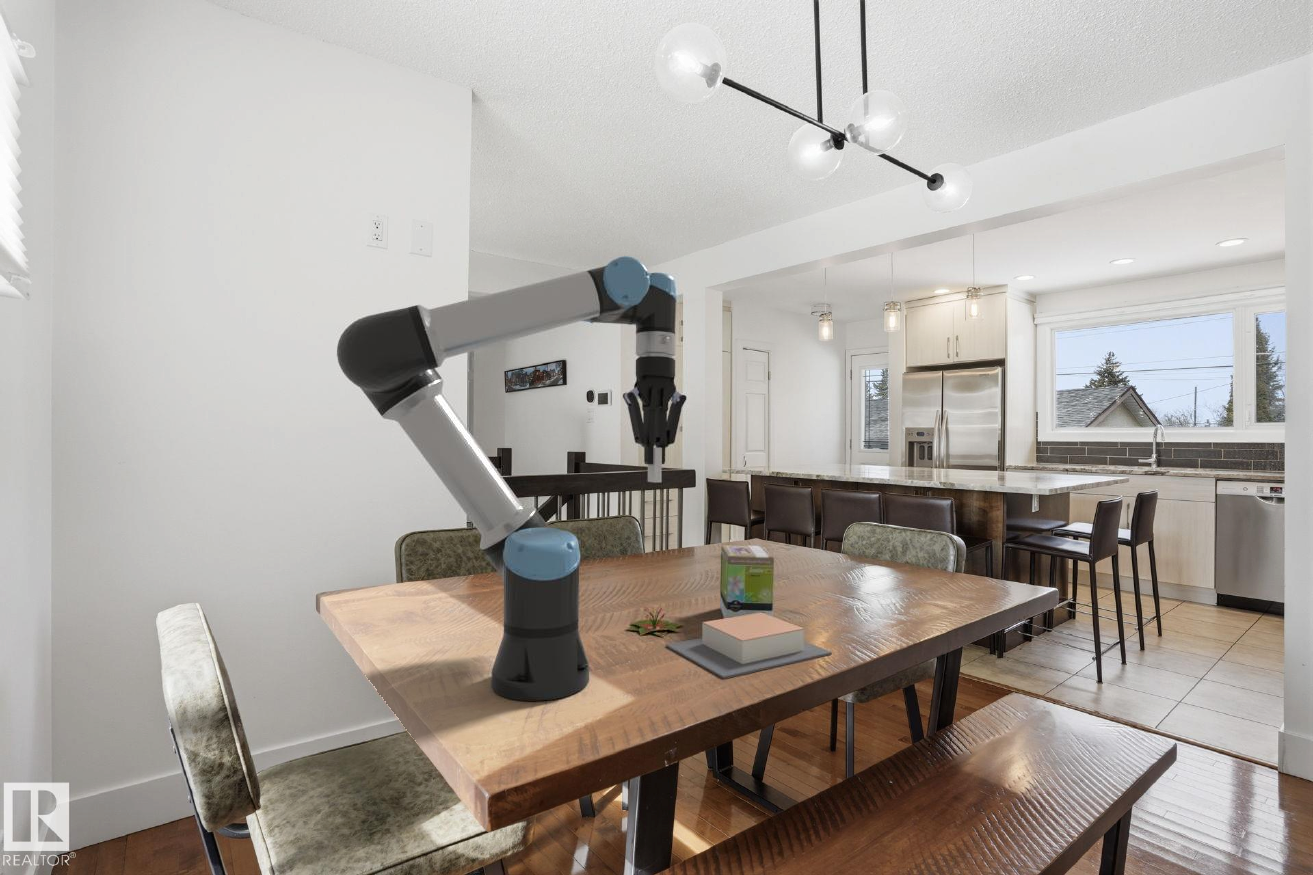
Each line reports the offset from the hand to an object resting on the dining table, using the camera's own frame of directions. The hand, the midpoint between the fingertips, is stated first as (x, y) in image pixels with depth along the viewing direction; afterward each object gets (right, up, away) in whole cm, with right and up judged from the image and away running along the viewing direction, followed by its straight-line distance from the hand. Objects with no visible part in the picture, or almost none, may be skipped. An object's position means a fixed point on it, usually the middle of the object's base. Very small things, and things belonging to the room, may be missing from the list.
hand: (654, 481), depth 117 cm
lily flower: (0, -31, +9) cm, 32 cm away
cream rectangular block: (+12, -28, -7) cm, 31 cm away
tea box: (+20, -31, +17) cm, 41 cm away
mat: (+17, -31, -4) cm, 35 cm away
